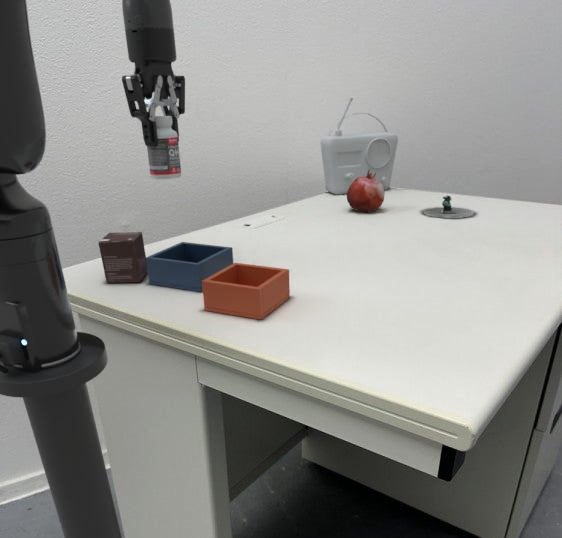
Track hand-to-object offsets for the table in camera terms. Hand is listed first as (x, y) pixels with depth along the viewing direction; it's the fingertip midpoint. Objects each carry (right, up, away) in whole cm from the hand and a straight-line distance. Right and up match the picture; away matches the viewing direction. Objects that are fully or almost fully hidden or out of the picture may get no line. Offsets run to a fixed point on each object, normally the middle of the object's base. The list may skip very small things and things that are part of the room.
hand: (162, 143), depth 93 cm
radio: (+43, +15, +69) cm, 82 cm away
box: (-7, -22, +3) cm, 24 cm away
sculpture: (+61, 0, +40) cm, 73 cm away
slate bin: (+5, -23, +2) cm, 23 cm away
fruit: (+42, +2, +45) cm, 61 cm away
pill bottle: (0, -5, +3) cm, 6 cm away
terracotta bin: (+15, -29, -10) cm, 34 cm away
